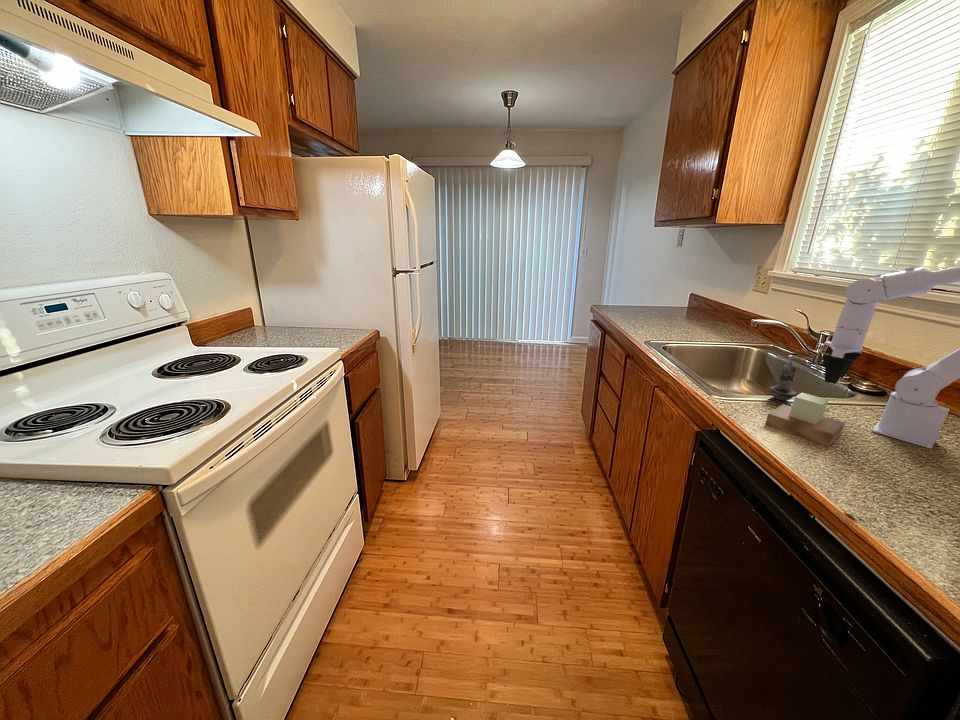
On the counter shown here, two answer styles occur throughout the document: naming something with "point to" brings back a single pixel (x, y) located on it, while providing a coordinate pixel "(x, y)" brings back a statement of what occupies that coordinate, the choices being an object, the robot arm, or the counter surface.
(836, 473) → the counter surface
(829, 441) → the walnut block
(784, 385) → the grey stone chess piece
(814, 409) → the sage block
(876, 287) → the robot arm
